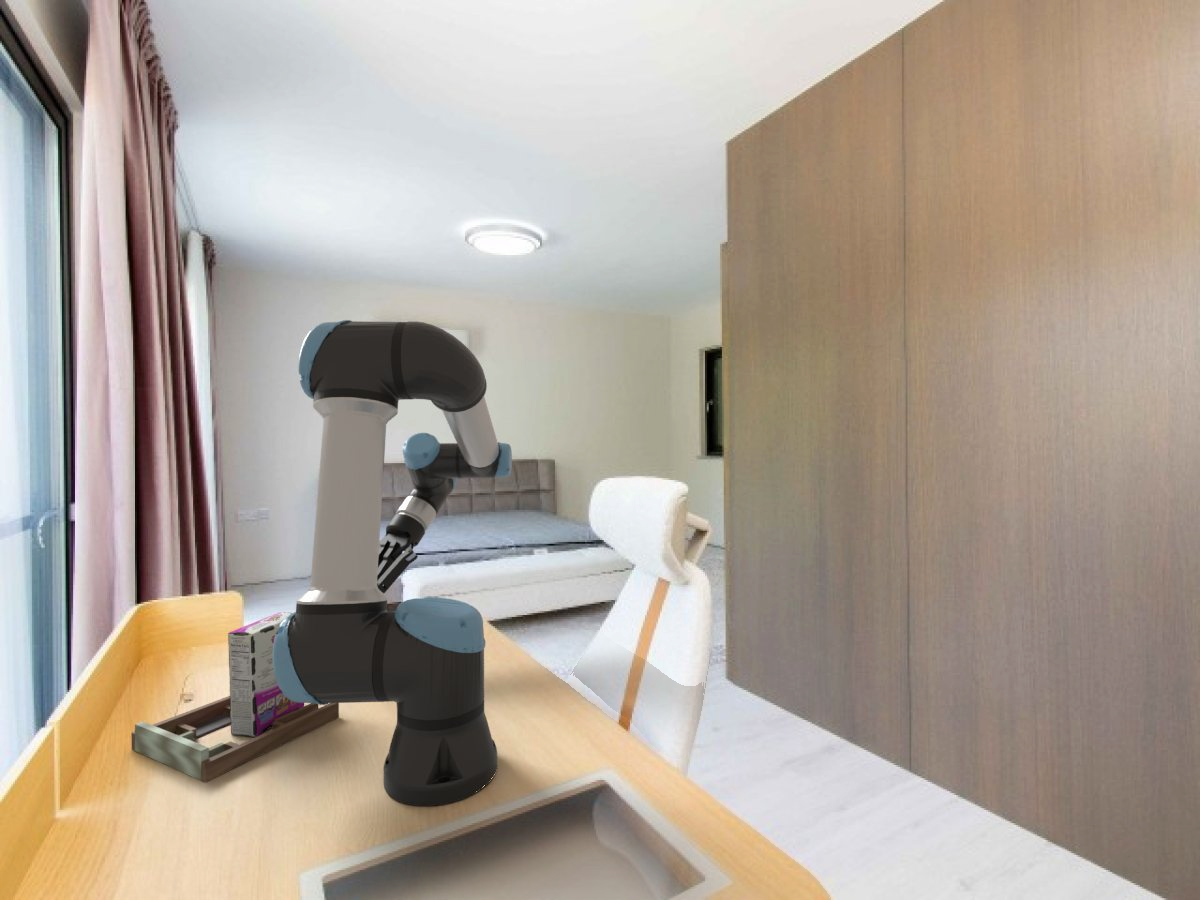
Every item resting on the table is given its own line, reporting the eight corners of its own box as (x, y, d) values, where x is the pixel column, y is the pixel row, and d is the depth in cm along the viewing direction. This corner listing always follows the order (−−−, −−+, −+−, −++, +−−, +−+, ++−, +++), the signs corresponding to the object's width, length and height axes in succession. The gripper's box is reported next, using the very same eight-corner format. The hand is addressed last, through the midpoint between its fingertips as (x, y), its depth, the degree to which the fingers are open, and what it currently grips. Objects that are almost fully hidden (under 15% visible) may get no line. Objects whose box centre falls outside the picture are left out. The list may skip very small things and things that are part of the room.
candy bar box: (280, 704, 102) (279, 611, 102) (305, 707, 101) (304, 612, 101) (227, 735, 91) (226, 631, 91) (254, 738, 90) (254, 633, 90)
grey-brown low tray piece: (338, 717, 97) (338, 693, 97) (205, 782, 78) (205, 752, 78) (267, 695, 105) (267, 673, 105) (131, 749, 87) (131, 722, 87)
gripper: (442, 535, 124) (381, 636, 110) (398, 531, 130) (334, 626, 116) (424, 513, 120) (357, 615, 105) (379, 510, 126) (310, 606, 111)
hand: (345, 621), depth 110 cm, fingers closed
